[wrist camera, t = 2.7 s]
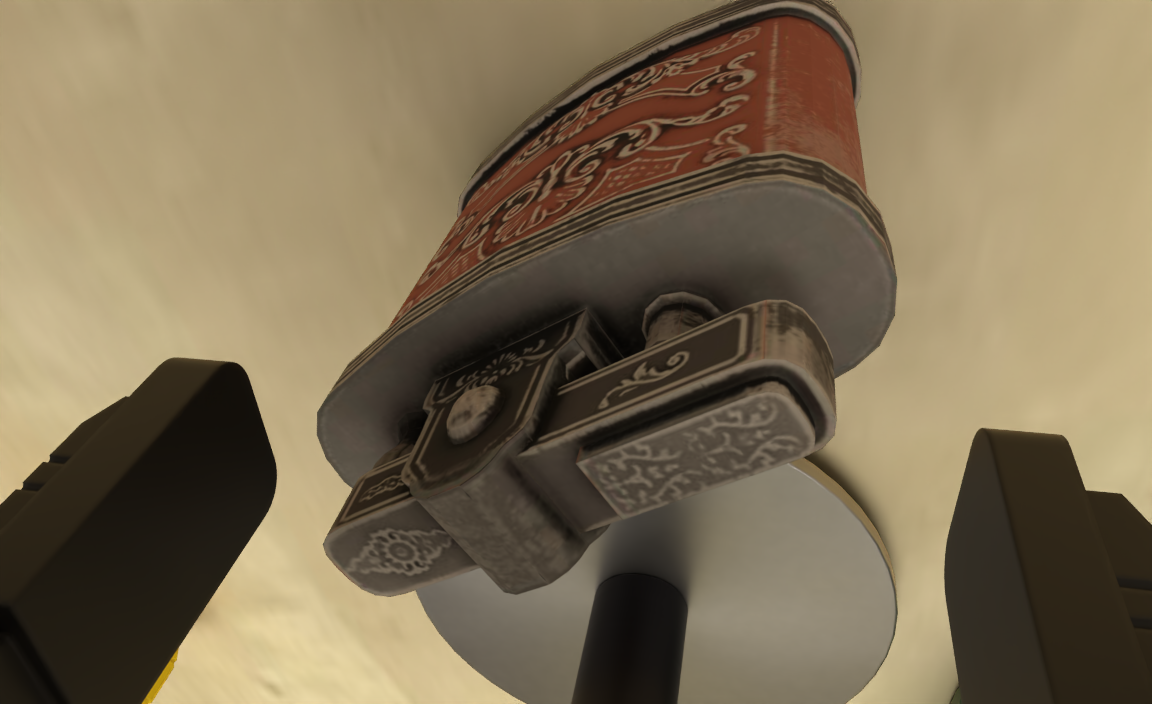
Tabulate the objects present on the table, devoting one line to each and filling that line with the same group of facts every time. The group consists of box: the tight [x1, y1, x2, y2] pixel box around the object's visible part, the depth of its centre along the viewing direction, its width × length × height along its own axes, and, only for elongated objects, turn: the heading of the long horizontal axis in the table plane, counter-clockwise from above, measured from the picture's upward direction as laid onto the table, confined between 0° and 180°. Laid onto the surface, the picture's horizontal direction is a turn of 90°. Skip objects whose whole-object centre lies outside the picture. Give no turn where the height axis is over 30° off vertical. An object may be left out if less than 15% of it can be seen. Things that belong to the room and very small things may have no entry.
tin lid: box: [416, 458, 898, 704], centre depth 22 cm, size 12×12×6 cm
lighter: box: [317, 0, 897, 597], centre depth 13 cm, size 8×3×10 cm, turn 125°
